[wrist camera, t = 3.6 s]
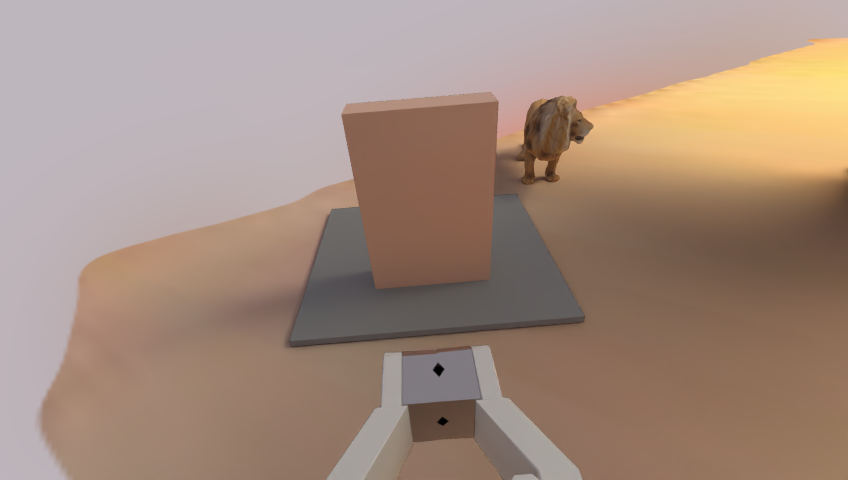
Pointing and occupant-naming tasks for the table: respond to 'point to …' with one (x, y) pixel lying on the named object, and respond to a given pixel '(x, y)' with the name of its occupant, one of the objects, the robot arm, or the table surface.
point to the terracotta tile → (425, 186)
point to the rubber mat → (432, 287)
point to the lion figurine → (551, 134)
